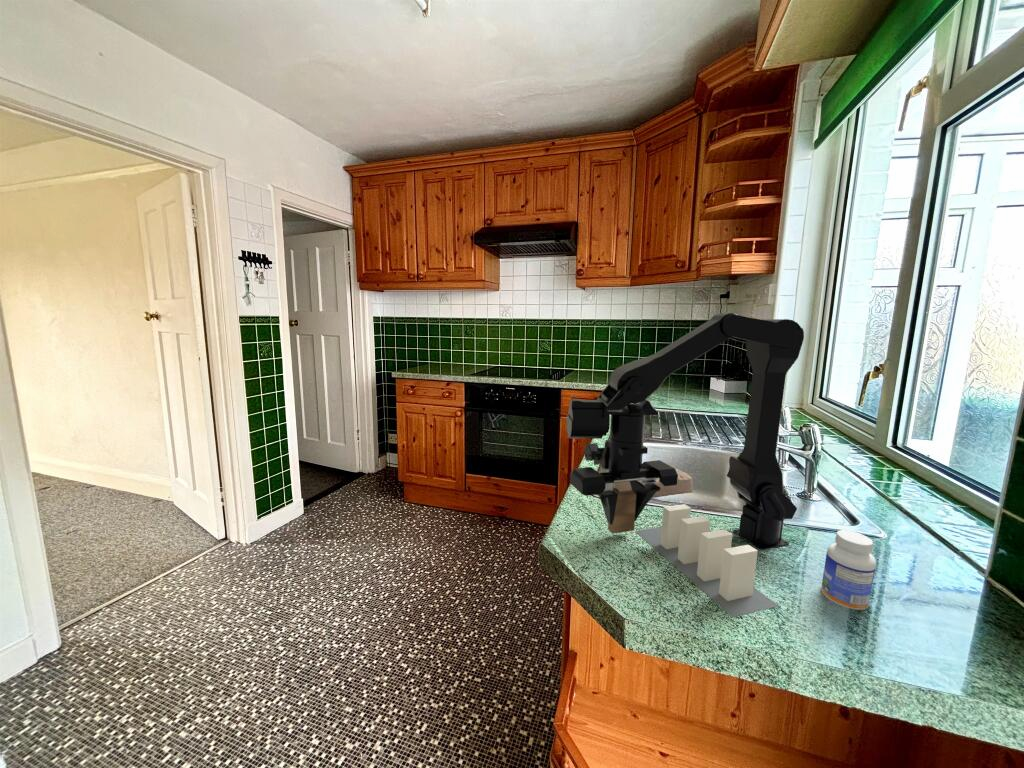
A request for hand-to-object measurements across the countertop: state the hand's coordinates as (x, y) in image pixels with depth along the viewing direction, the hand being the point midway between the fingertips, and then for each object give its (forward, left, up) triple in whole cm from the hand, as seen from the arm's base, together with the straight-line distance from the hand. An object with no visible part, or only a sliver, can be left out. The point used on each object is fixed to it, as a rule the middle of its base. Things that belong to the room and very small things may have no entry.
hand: (621, 521), depth 74 cm
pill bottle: (-23, +23, -4) cm, 32 cm away
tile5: (-8, +18, -3) cm, 20 cm away
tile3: (-8, +9, -3) cm, 13 cm away
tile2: (-8, +5, -3) cm, 10 cm away
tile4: (-8, +14, -3) cm, 16 cm away
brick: (-19, -17, -4) cm, 25 cm away
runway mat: (-8, +10, -3) cm, 13 cm away
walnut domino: (0, 0, -2) cm, 2 cm away
